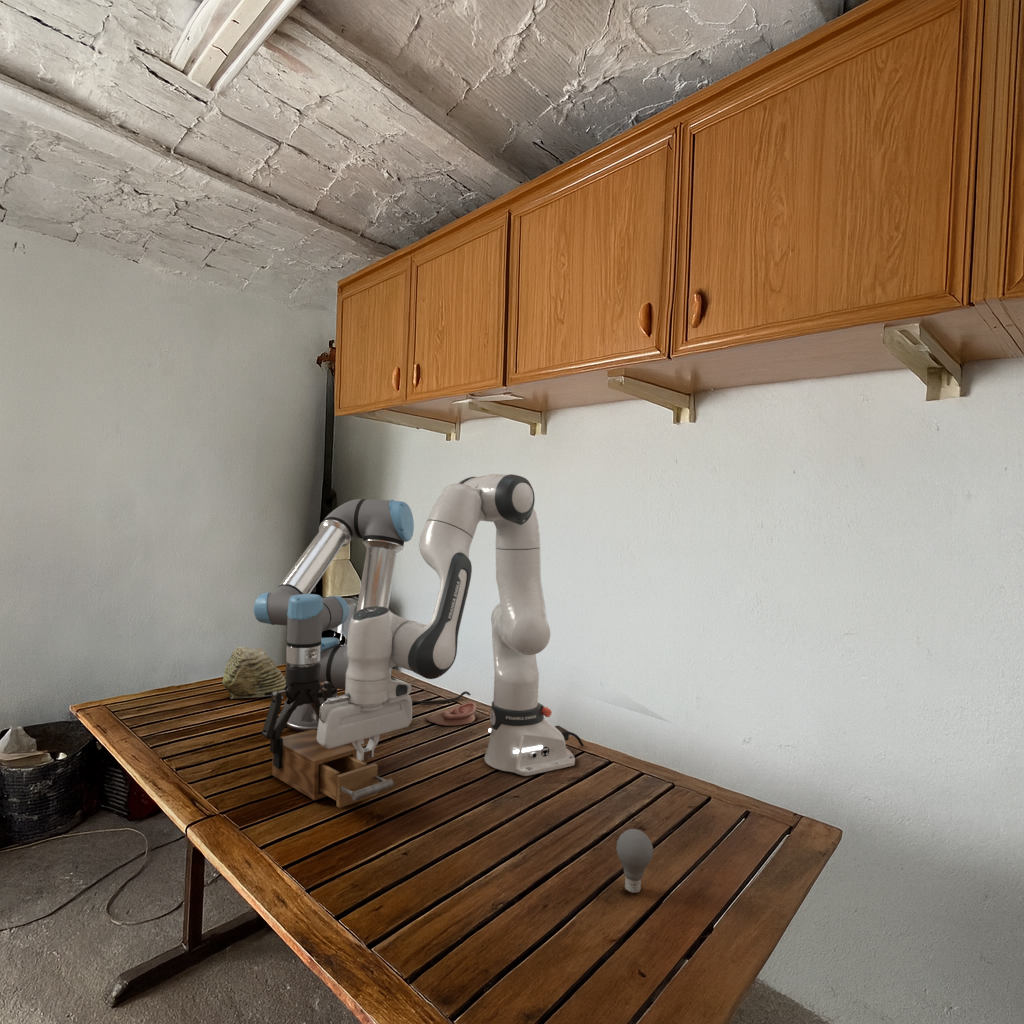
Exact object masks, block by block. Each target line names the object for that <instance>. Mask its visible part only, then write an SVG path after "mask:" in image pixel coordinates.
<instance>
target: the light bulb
mask: <svg viewBox="0 0 1024 1024" xmlns="http://www.w3.org/2000/svg"><path fill="white" fill-rule="evenodd" d="M615 849H616V854H617V857H618V859H619V861H620V863H621V865H622V867H623V873H624V874H623V875H624V876H625V878H624V888H625V890H627V891H628V892H630V893H634V894H635V893H639V892H640V891H641V889H642V887H641V886H642V879H643V877H644V875H645V871H646V868H647V867H648V866H649V864H650V863H651V861H652V859H653V855H654V847H653V843H652V841H651V838H649V836H648V835H647V834H646V833H645V832H643V831H642V830H641V829H636V828H629V829H627V830H625V831H623V832H622V833H621V834H620V835H619V837H618V839H617V841H616V847H615Z"/></svg>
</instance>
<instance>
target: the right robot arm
mask: <svg viewBox="0 0 1024 1024" xmlns="http://www.w3.org/2000/svg"><path fill="white" fill-rule="evenodd" d="M535 496H536V495H535V492H534V487H533V486H532V484H531V482H530V481H529V480H528V479H527V478H526V477H524V476H522V475H517V474H511V473H510V474H499V473H492V474H487V475H486V474H485V475H480V476H469V477H466V478H464V479H463V480H461V481H459V482H458V483H451V484H449V485H447V486H446V487H445V488H444V489H443V490H442V491H441V493H440V494H439V496H438V498H437V499H436V501H435V503H434V504H433V506H432V508H431V510H430V512H429V514H428V516H427V519H426V521H425V523H424V526H423V529H422V531H421V533H420V536H419V543H418V548H419V552H420V555H421V557H422V559H423V560H424V562H425V563H426V564H427V565H428V566H429V567H430V568H432V570H434V571H435V572H436V573H437V576H438V578H439V583H440V584H439V590H438V594H437V597H436V601H435V605H434V609H433V613H432V617H431V620H430V621H429V623H428V624H425V623H420V622H417V621H415V620H410V619H407V618H404V617H401V616H399V615H397V614H395V613H393V612H392V611H391V610H390V609H389V607H388V608H386V607H381V606H375V607H367V608H363V609H361V610H359V611H357V612H356V611H355V612H354V613H353V614H352V616H351V618H350V621H349V625H348V632H347V637H348V638H347V637H346V638H347V658H348V668H347V671H346V680H345V690H344V694H340V695H338V696H337V697H331V698H328V699H327V701H325V702H324V703H323V704H322V705H321V706H320V714H319V717H320V718H319V723H318V730H317V742H318V743H319V744H320V745H321V746H323V747H325V748H327V749H331V748H334V747H338V746H341V745H345V744H347V745H349V744H351V745H352V746H353V747H354V748H355V749H356V750H357V759H358V760H359V761H362V762H364V761H365V760H368V759H369V760H370V759H373V758H374V756H375V749H376V747H377V745H378V744H379V741H380V735H384V734H387V733H389V732H395V731H397V730H402V729H406V728H408V727H409V726H410V725H411V723H412V720H413V703H412V701H413V699H412V697H411V696H410V694H411V692H412V684H410V683H408V682H406V681H404V680H401V679H399V678H396V677H392V671H391V668H392V669H393V668H394V667H400V668H401V669H405V670H407V671H411V672H412V673H415V674H416V675H418V676H420V677H422V678H425V679H427V680H435V679H438V678H440V677H442V676H443V675H444V674H446V673H447V672H449V670H450V669H451V668H452V666H453V665H454V663H455V661H456V658H457V653H458V641H459V632H460V627H461V623H462V619H463V614H464V610H465V606H466V602H467V597H468V593H469V589H470V584H471V579H472V573H473V571H472V570H473V567H472V561H471V560H470V550H471V545H472V543H473V539H474V537H475V535H476V531H477V528H478V525H479V523H480V522H490V523H493V524H494V526H495V529H496V530H495V581H496V585H497V588H498V589H497V590H498V596H499V602H498V603H497V604H496V605H495V606H494V608H493V609H492V611H491V615H490V622H491V638H492V641H491V642H492V643H491V644H492V654H493V655H492V657H493V671H494V677H493V679H494V680H493V700H492V701H491V708H490V718H489V722H490V728H488V733H490V734H489V740H488V744H487V748H486V751H485V753H484V757H483V760H484V762H485V763H486V764H487V765H488V766H490V767H491V768H493V769H496V770H499V771H503V772H509V773H514V774H517V775H519V776H521V777H522V776H523V777H528V776H533V775H537V774H542V773H547V772H552V771H556V770H560V769H565V768H569V767H573V766H575V765H576V758H575V755H574V754H573V753H572V751H571V750H569V749H568V748H567V743H566V742H567V741H569V738H570V737H569V736H572V737H574V738H575V739H576V740H577V741H578V743H579V745H580V746H581V747H584V746H585V745H584V743H583V741H582V739H581V738H580V736H579V735H577V733H574V732H572V731H569V730H567V729H566V728H564V727H562V726H561V725H553V724H552V723H551V722H550V721H548V719H546V718H550V717H551V716H552V713H553V711H552V710H551V708H549V707H548V706H545V705H543V704H541V703H540V702H539V688H540V687H539V684H540V670H539V667H538V661H537V654H539V653H541V652H543V651H544V650H545V649H546V647H547V646H548V644H549V642H550V639H551V628H550V625H549V621H548V617H547V608H546V602H545V596H544V590H543V585H542V584H543V583H542V567H541V566H542V564H541V562H542V561H541V560H542V559H541V558H542V557H541V536H540V535H541V534H540V533H541V532H540V526H539V521H538V515H537V512H536V509H535V508H534V507H535V503H536V499H535ZM326 703H328V704H326ZM545 717H546V718H545ZM366 739H368V742H367V745H366V746H365V747H363V746H362V745H365V744H364V743H365V740H366Z"/></svg>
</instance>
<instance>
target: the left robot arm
mask: <svg viewBox="0 0 1024 1024" xmlns="http://www.w3.org/2000/svg"><path fill="white" fill-rule="evenodd" d="M414 521H415V520H414V515H413V512H412V509H411V507H410V506H409V504H408V503H407V502H405V501H401V500H394V499H368V498H367V499H365V498H357V499H352V500H349V501H347V502H345V503H342V504H341V505H339V506H338V507H336V508H335V509H333V510H332V511H331V512H330V513H328V514H327V516H326V517H324V519H323V520H322V521H321V522H320V524H319V526H318V533H317V534H316V535H315V537H314V538H313V540H312V541H311V542H310V543H309V545H308V546H307V547H306V549H305V550H304V552H302V554H301V556H300V557H299V558H298V559H297V561H296V562H295V564H294V565H293V566H292V568H290V570H289V571H288V573H287V574H286V576H285V577H284V578H283V580H282V581H281V582H280V583H279V585H278V586H277V587H276V589H275V590H274V591H273V592H270V591H269V592H262V593H261V594H259V595H258V596H257V597H256V598H255V601H254V603H253V615H254V617H255V619H256V620H257V621H258V622H259V623H262V624H267V625H271V626H275V625H276V626H287V627H286V629H287V630H286V631H287V632H286V634H287V635H286V640H287V641H286V650H285V651H286V653H285V662H286V665H285V680H286V686H285V688H284V690H281V691H272V693H271V696H270V698H271V699H270V701H271V702H270V705H269V708H268V710H267V711H268V712H267V715H266V718H265V722H264V723H263V724H264V725H263V728H262V731H261V735H262V736H263V737H264V738H266V739H268V740H269V752H270V753H271V754H272V767H273V766H275V767H276V768H278V769H281V768H282V752H283V739H282V738H281V737H282V736H281V735H282V734H283V732H284V730H285V728H287V729H289V730H291V731H294V732H295V731H296V732H300V733H301V732H305V731H309V730H313V729H314V730H316V731H317V730H318V723H319V718H320V717H319V714H320V706H321V705H322V704H323V703H324V702H325V701H327V699H328V698H331V697H337V696H339V695H338V690H344V691H345V680H346V671H347V668H348V658H347V638H348V636H347V637H346V638H345V642H344V644H343V645H342V644H340V643H341V641H340V639H339V638H338V637H323V635H322V634H323V632H327V631H328V630H332V629H336V628H338V627H340V626H341V625H343V624H344V623H346V621H347V620H348V618H349V615H350V606H349V604H348V602H347V601H346V600H345V599H344V598H343V597H341V596H338V595H329V596H326V597H322V596H321V595H320V594H315V593H312V591H313V590H314V588H315V587H316V585H317V584H318V582H319V581H320V580H321V578H322V577H323V575H324V574H325V573H326V571H327V569H328V568H329V567H330V565H331V563H332V562H333V561H334V559H335V558H336V556H337V554H338V553H339V552H340V550H341V549H342V548H344V547H346V546H348V545H349V544H350V543H351V541H352V540H355V539H361V540H362V544H363V545H364V547H365V549H366V553H365V558H364V564H363V570H362V577H361V582H360V587H359V593H358V598H357V605H356V610H355V613H356V612H357V611H359V610H361V609H363V608H367V607H375V606H381V607H386V608H388V609H389V606H390V599H391V593H392V587H393V581H394V574H395V570H396V569H395V568H396V562H397V558H398V557H397V556H398V553H400V552H401V551H402V550H404V546H405V543H408V542H410V541H411V540H412V538H413V535H414V531H415V530H414V529H415V522H414ZM392 670H393V667H392V668H391V672H392ZM464 695H467V696H472V694H471V693H470V692H469V691H463V692H461V693H460V694H459V695H457V696H455V697H454V698H448V699H436V700H435V699H433V700H412V704H440V703H448V702H454V701H457V700H459V699H461V698H462V697H463V696H464ZM285 697H286V699H285ZM284 699H285V701H284ZM283 701H284V703H283V707H282V702H283ZM326 704H328V703H326ZM281 707H282V709H281Z"/></svg>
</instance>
